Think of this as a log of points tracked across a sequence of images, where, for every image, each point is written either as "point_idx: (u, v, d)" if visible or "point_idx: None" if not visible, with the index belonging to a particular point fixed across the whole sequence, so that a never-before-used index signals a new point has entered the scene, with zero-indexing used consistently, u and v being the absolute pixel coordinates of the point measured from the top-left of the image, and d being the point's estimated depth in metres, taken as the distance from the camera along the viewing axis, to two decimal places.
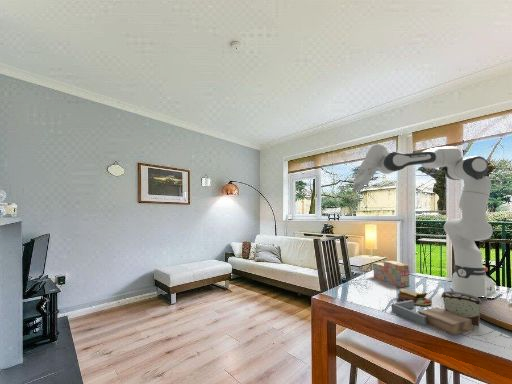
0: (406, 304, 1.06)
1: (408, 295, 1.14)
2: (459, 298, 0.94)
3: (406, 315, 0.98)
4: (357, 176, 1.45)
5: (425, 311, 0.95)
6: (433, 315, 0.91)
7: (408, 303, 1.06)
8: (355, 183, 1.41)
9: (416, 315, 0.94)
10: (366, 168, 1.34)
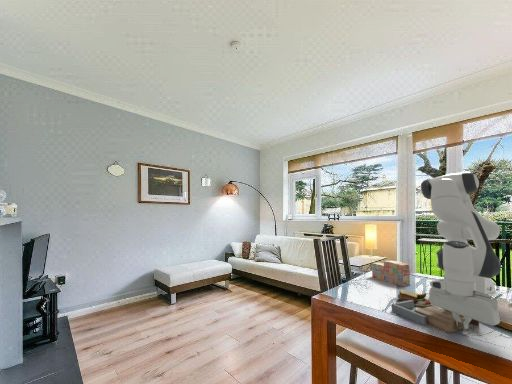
0: (406, 304, 1.06)
1: (409, 296, 1.12)
2: None
3: (406, 315, 0.98)
4: (436, 292, 0.92)
5: (421, 310, 0.96)
6: (428, 314, 0.92)
7: (408, 303, 1.06)
8: (449, 310, 0.88)
9: (416, 315, 0.94)
10: (470, 292, 0.83)
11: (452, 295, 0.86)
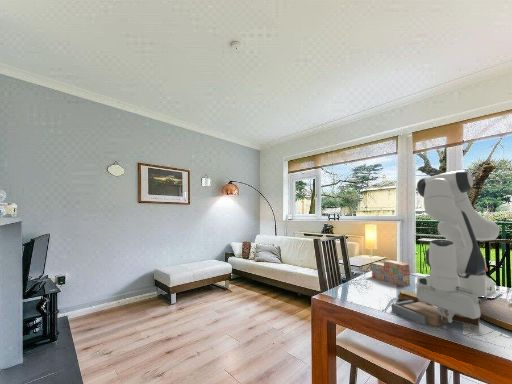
0: (406, 304, 1.06)
1: (409, 296, 1.12)
2: None
3: (406, 315, 0.98)
4: (423, 288, 0.97)
5: (408, 305, 1.01)
6: (415, 309, 0.97)
7: (408, 303, 1.06)
8: (434, 305, 0.93)
9: (416, 315, 0.94)
10: (453, 288, 0.87)
11: (437, 291, 0.91)
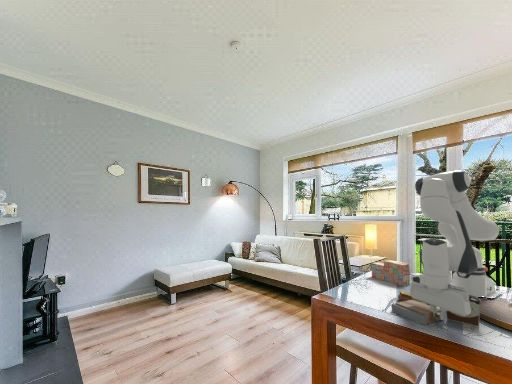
0: None
1: (409, 297, 1.12)
2: None
3: (406, 315, 0.98)
4: (416, 286, 1.00)
5: (402, 303, 1.03)
6: (408, 306, 0.99)
7: None
8: None
9: (416, 315, 0.94)
10: (445, 286, 0.90)
11: (429, 288, 0.94)
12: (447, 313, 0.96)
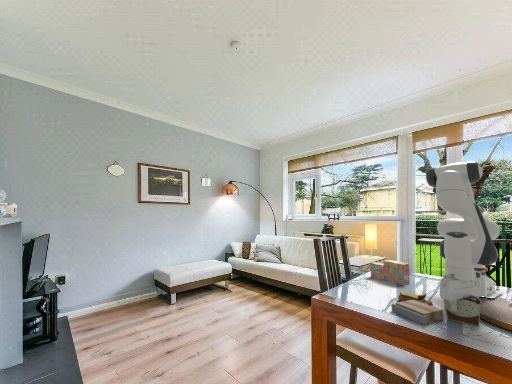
0: None
1: (410, 298, 1.11)
2: None
3: (406, 315, 0.98)
4: None
5: (402, 303, 1.03)
6: (408, 306, 0.99)
7: None
8: None
9: (416, 315, 0.94)
10: (448, 274, 0.96)
11: None
12: (447, 313, 0.96)
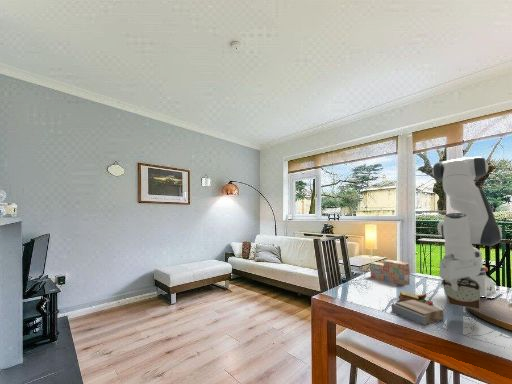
0: None
1: (410, 298, 1.10)
2: (458, 285, 0.95)
3: (406, 315, 0.98)
4: None
5: (402, 303, 1.03)
6: (408, 306, 0.99)
7: None
8: None
9: (416, 315, 0.94)
10: (448, 254, 0.97)
11: None
12: (449, 299, 0.98)
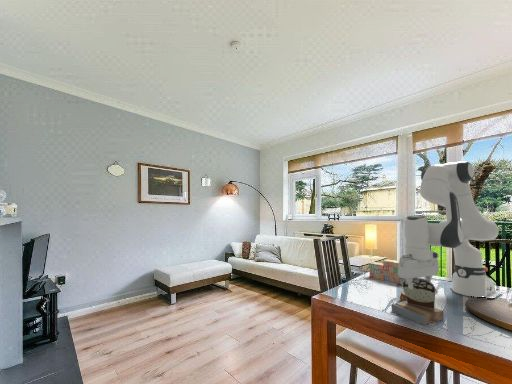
0: None
1: None
2: (417, 287, 0.99)
3: (406, 315, 0.98)
4: None
5: (402, 303, 1.03)
6: (408, 307, 0.99)
7: None
8: None
9: (416, 315, 0.94)
10: (407, 254, 1.01)
11: None
12: (407, 299, 1.03)
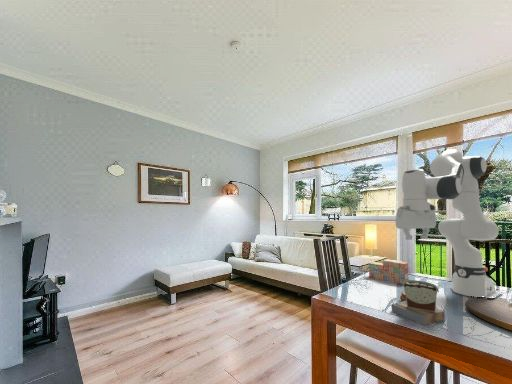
0: None
1: None
2: (418, 286, 0.98)
3: (406, 315, 0.98)
4: None
5: (403, 304, 1.03)
6: (409, 308, 0.99)
7: None
8: None
9: (416, 315, 0.94)
10: None
11: None
12: (407, 301, 1.00)
